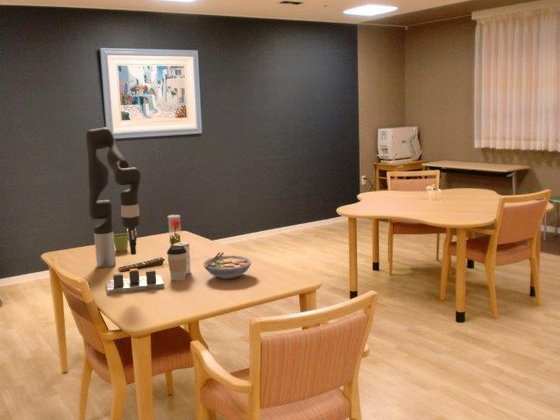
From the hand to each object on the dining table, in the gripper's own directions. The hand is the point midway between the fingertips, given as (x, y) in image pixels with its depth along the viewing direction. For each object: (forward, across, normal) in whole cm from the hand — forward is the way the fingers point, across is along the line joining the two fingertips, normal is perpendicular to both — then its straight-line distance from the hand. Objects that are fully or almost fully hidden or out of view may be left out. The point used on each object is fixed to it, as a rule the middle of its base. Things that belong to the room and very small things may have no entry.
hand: (133, 254), depth 254 cm
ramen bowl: (+17, -4, +42) cm, 45 cm away
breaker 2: (+14, -4, +7) cm, 16 cm away
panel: (+16, -6, 0) cm, 18 cm away
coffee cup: (+17, -12, +20) cm, 28 cm away
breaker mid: (+14, -6, 0) cm, 16 cm away
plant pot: (+17, -76, -2) cm, 77 cm away
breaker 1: (+14, -4, -7) cm, 16 cm away
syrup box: (+17, -19, +23) cm, 34 cm away
